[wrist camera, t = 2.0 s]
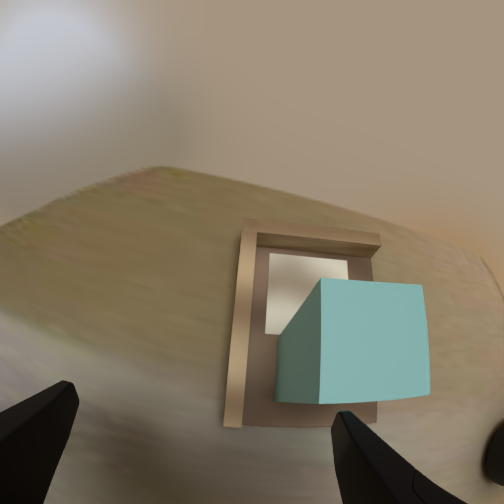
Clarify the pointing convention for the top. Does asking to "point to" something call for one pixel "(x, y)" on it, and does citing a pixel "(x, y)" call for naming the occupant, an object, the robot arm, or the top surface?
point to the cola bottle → (496, 458)
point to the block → (354, 345)
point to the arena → (285, 314)
